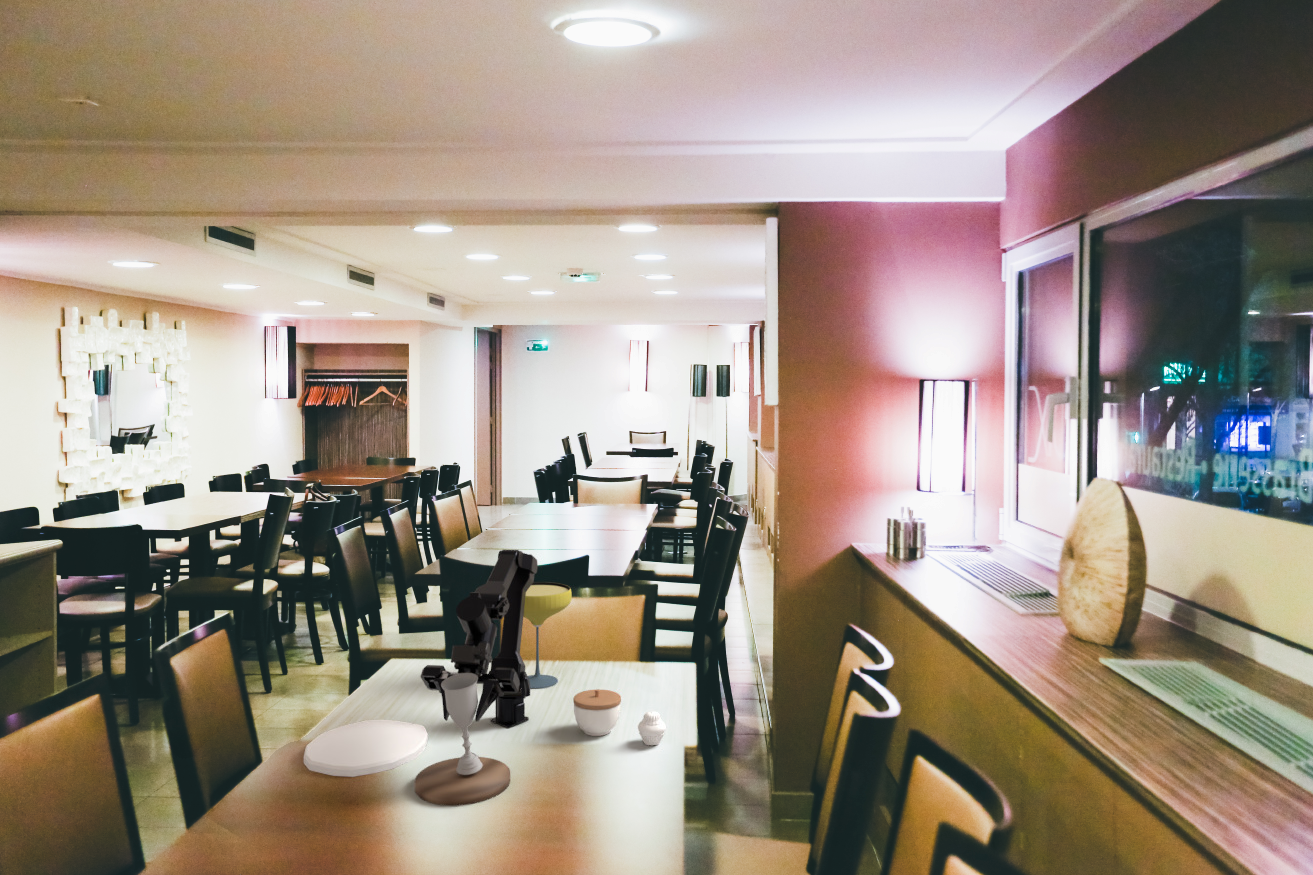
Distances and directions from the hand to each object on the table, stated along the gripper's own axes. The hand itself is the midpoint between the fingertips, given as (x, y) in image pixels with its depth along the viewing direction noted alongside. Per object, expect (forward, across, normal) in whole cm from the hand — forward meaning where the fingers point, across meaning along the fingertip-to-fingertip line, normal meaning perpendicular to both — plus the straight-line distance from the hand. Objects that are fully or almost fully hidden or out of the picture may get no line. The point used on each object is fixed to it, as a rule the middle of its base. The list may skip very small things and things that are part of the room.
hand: (460, 720), depth 160 cm
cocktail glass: (-34, -1, +54) cm, 64 cm away
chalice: (+6, +1, +10) cm, 11 cm away
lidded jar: (-12, +21, +31) cm, 39 cm away
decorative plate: (0, -26, +20) cm, 33 cm away
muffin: (-8, +34, +27) cm, 44 cm away
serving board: (+8, 0, +10) cm, 13 cm away
